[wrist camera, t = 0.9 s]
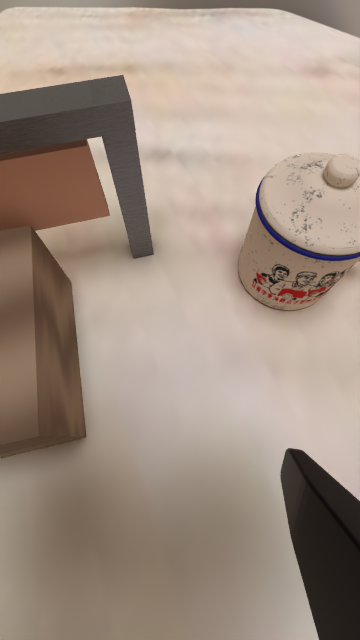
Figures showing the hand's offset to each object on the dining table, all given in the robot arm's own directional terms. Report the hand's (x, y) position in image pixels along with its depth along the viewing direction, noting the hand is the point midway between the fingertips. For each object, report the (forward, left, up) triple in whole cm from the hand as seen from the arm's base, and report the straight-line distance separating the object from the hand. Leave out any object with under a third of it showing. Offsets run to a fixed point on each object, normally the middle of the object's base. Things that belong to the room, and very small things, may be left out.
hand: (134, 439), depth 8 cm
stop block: (+5, +11, -14) cm, 19 cm away
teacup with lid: (+16, -11, -14) cm, 24 cm away
